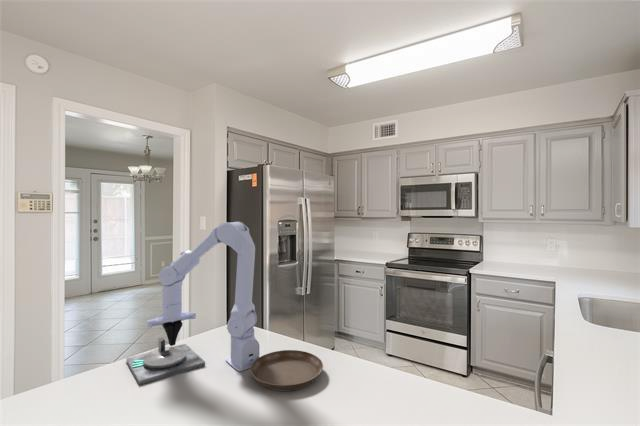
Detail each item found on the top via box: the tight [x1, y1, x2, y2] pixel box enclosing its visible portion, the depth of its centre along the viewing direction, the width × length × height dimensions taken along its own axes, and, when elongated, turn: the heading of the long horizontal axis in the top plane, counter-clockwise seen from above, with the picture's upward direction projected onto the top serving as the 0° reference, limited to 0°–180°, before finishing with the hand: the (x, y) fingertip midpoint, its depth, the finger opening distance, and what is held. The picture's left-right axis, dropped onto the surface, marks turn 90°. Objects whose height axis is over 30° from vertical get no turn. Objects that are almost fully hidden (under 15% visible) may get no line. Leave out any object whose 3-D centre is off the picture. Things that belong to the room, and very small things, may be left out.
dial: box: [143, 337, 186, 368], centre depth 103 cm, size 12×12×5 cm
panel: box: [125, 343, 206, 386], centre depth 103 cm, size 18×18×2 cm
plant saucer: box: [250, 349, 324, 392], centre depth 96 cm, size 21×21×3 cm
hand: (172, 344), depth 109 cm, fingers closed
